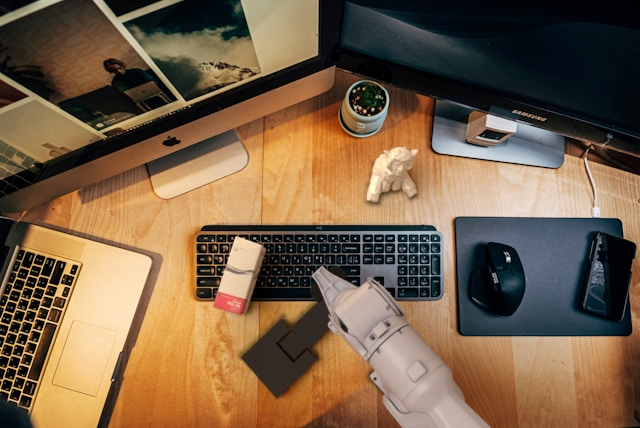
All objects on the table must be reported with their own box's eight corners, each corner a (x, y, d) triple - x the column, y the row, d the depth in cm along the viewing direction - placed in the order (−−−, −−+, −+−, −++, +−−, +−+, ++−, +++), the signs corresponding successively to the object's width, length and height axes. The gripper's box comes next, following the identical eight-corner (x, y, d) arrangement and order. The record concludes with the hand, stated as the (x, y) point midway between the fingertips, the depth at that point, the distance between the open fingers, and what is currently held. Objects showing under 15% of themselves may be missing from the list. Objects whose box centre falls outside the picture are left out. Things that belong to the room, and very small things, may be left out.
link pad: (342, 314, 78) (343, 315, 75) (296, 358, 76) (296, 361, 73) (324, 295, 78) (325, 295, 75) (278, 338, 77) (277, 341, 74)
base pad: (316, 357, 76) (316, 360, 73) (277, 394, 75) (276, 399, 72) (281, 318, 77) (280, 319, 74) (243, 354, 76) (240, 357, 73)
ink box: (240, 316, 69) (263, 244, 71) (210, 307, 69) (234, 235, 71) (247, 312, 77) (267, 248, 79) (220, 304, 77) (241, 240, 79)
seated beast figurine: (366, 204, 81) (376, 191, 69) (358, 160, 82) (367, 139, 70) (416, 197, 81) (434, 182, 70) (407, 153, 83) (424, 130, 71)
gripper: (294, 291, 55) (296, 290, 69) (374, 378, 54) (360, 360, 67) (335, 253, 56) (329, 259, 70) (414, 338, 55) (393, 327, 68)
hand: (346, 306), depth 69 cm, fingers open, 7 cm apart
